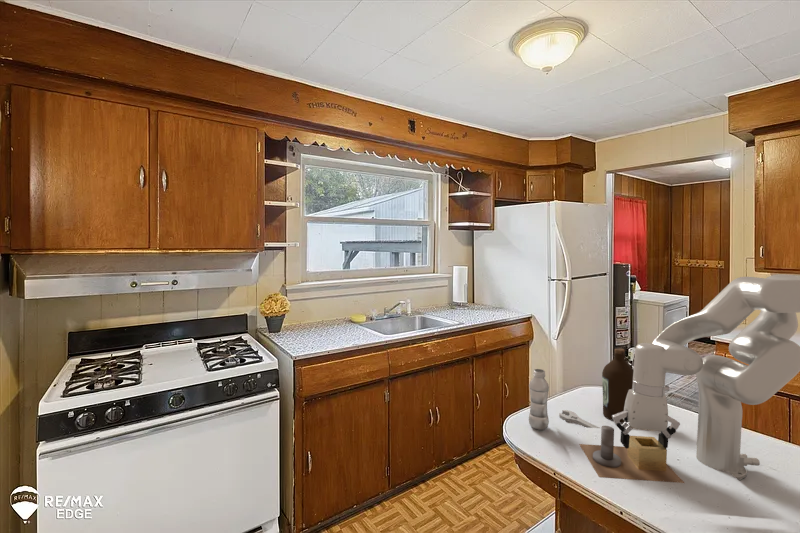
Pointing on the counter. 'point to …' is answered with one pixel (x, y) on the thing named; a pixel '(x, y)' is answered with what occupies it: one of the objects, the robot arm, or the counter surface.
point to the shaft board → (621, 461)
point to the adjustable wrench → (575, 419)
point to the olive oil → (616, 384)
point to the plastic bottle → (538, 401)
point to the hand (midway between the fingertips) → (643, 447)
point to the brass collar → (647, 453)
